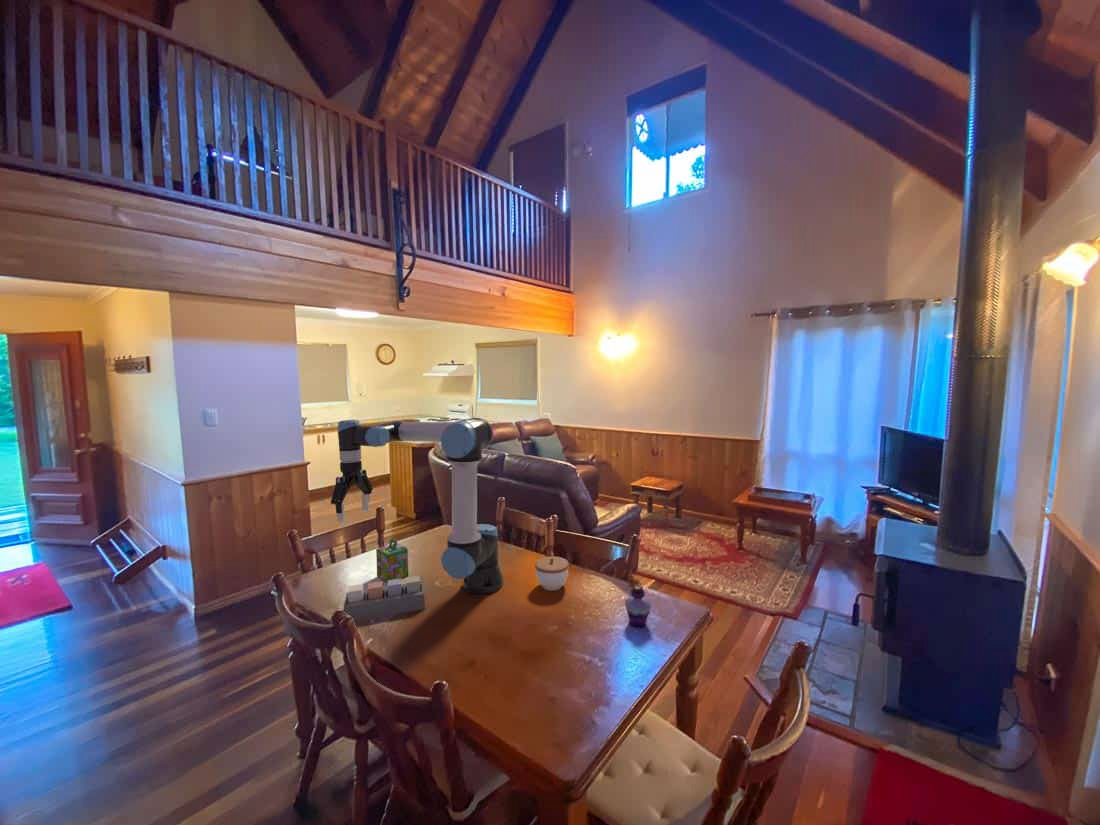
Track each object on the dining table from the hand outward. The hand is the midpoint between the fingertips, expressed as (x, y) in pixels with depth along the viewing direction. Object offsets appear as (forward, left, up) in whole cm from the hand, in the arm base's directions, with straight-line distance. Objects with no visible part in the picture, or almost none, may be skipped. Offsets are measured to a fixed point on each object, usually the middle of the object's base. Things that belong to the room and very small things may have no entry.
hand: (354, 515), depth 174 cm
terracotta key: (-21, +13, -23) cm, 34 cm away
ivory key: (-16, +17, -23) cm, 33 cm away
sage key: (-31, +5, -23) cm, 39 cm away
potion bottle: (-107, -10, -27) cm, 110 cm away
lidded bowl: (-72, -24, -27) cm, 80 cm away
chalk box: (-9, -10, -27) cm, 30 cm away
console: (-24, +11, -27) cm, 38 cm away
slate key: (-26, +9, -23) cm, 36 cm away
